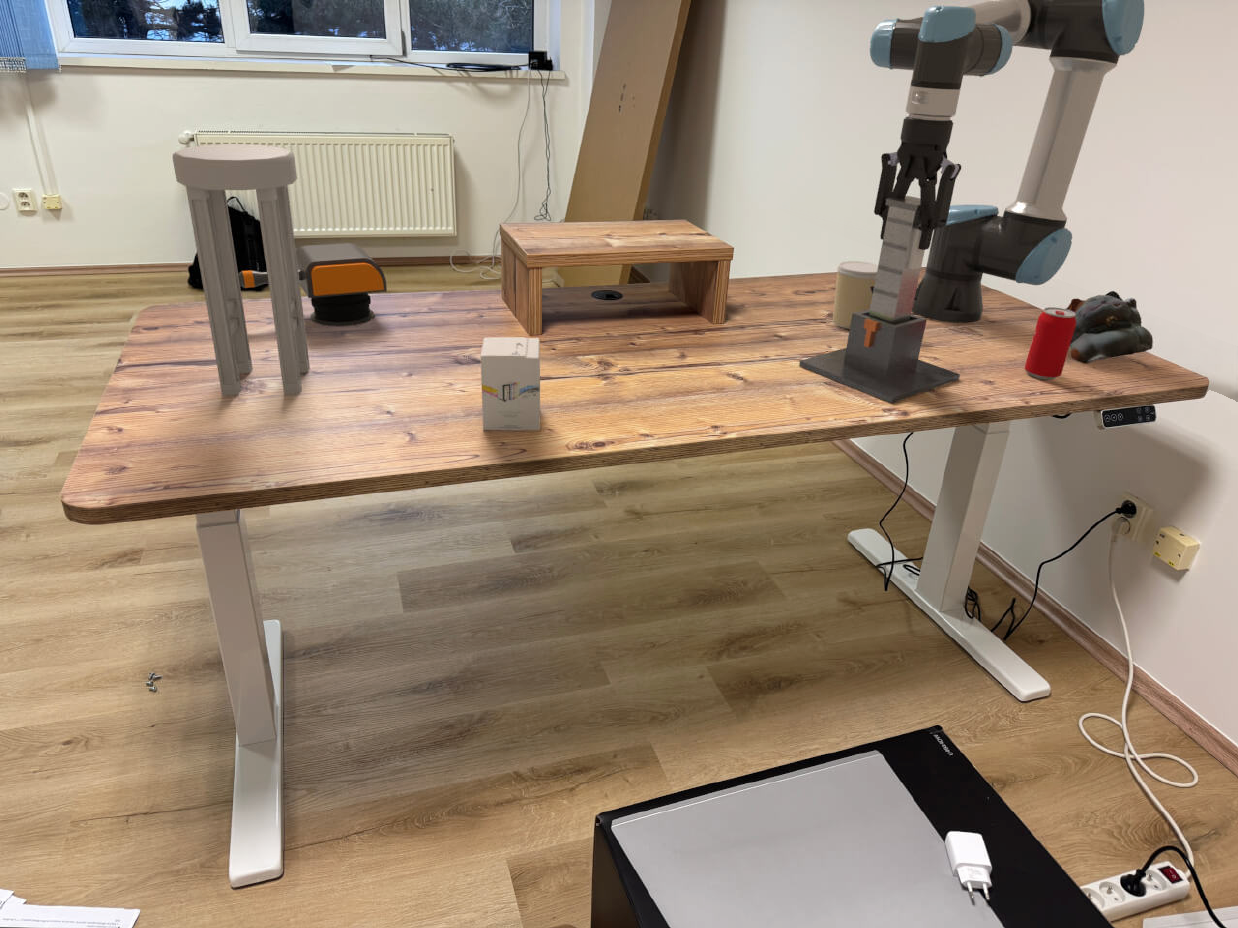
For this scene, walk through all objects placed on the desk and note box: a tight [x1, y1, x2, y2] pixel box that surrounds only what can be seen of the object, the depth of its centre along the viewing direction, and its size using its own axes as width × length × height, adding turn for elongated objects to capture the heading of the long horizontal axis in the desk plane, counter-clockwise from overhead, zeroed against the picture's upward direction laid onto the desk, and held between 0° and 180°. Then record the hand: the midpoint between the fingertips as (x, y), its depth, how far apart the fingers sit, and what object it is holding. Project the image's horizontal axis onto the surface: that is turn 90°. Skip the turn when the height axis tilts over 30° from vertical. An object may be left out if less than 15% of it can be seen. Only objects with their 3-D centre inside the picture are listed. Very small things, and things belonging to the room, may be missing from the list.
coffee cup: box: [832, 260, 878, 330], centre depth 178 cm, size 9×9×12 cm
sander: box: [238, 242, 388, 328], centre depth 164 cm, size 15×25×13 cm, turn 117°
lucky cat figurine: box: [1065, 290, 1154, 365], centre depth 168 cm, size 15×12×14 cm
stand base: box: [798, 309, 961, 404], centre depth 154 cm, size 20×20×10 cm
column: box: [869, 195, 924, 325], centre depth 147 cm, size 6×6×21 cm
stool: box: [172, 143, 311, 397], centre depth 131 cm, size 16×16×35 cm
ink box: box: [480, 336, 541, 431], centre depth 128 cm, size 9×8×12 cm
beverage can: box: [1024, 306, 1076, 380], centre depth 157 cm, size 6×6×12 cm
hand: (900, 263), depth 147 cm, fingers closed on column, 5 cm apart
